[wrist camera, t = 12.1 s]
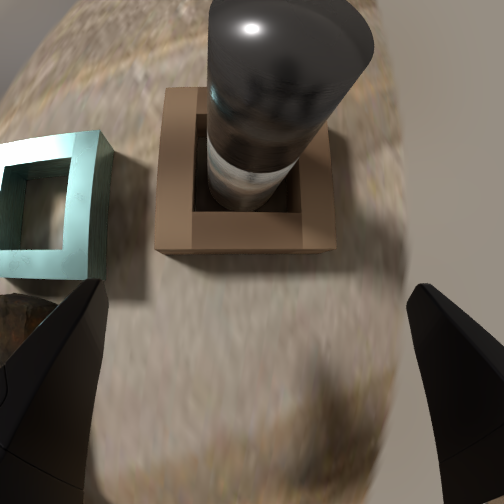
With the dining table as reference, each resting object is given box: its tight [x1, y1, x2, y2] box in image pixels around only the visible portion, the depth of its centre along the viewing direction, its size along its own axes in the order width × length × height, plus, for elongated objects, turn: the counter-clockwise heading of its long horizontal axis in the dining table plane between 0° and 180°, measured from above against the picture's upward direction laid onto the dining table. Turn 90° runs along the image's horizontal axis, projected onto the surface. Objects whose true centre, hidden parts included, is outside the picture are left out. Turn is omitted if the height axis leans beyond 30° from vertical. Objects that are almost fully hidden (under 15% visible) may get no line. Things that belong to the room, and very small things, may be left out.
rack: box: [154, 87, 337, 254], centre depth 17 cm, size 9×9×3 cm
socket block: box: [0, 130, 114, 280], centre depth 16 cm, size 8×8×3 cm
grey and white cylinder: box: [207, 0, 374, 212], centre depth 12 cm, size 4×4×13 cm
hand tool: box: [0, 293, 57, 367], centre depth 14 cm, size 19×4×5 cm, turn 173°
